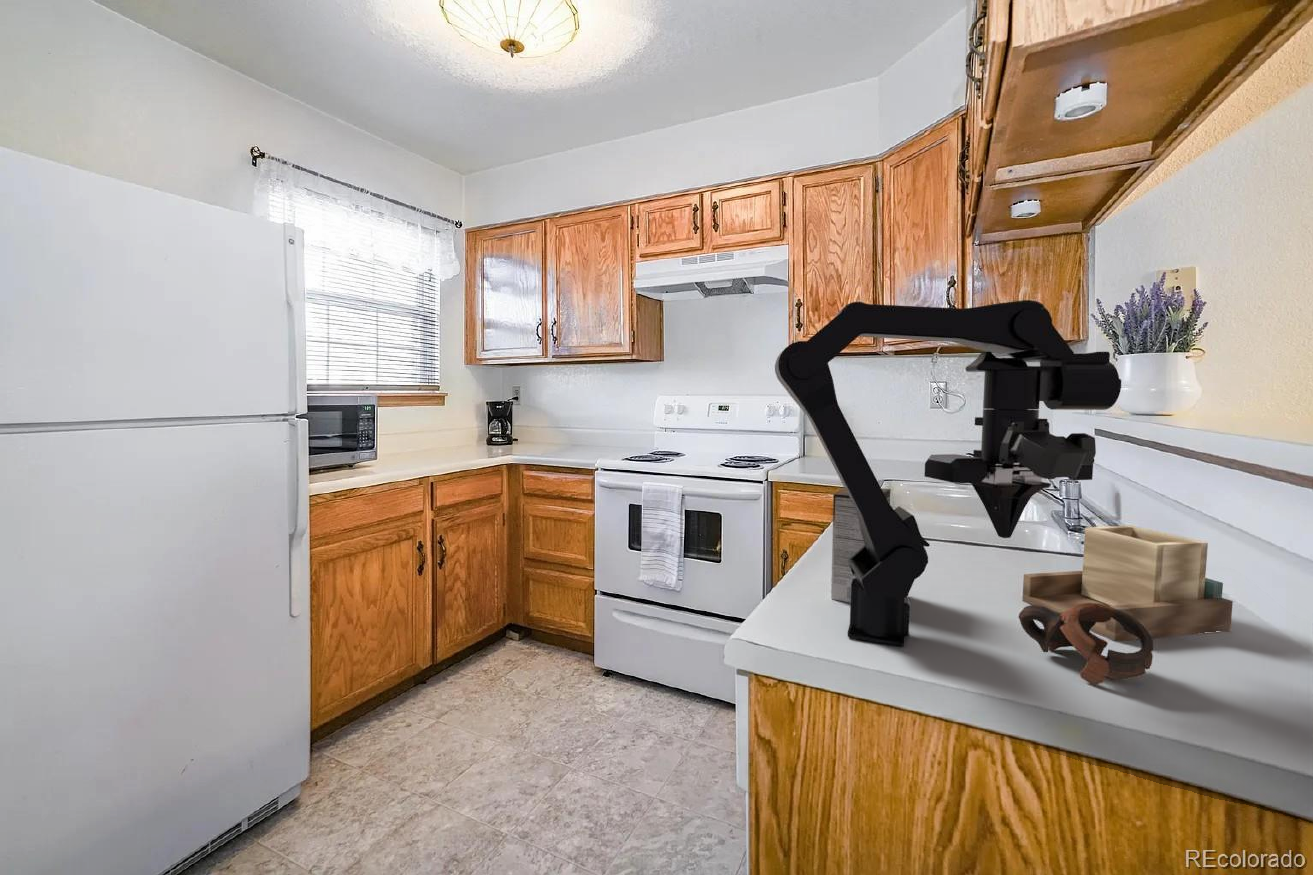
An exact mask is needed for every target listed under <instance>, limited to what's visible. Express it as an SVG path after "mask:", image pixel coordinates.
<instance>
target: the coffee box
mask: <svg viewBox="0 0 1313 875" xmlns="http://www.w3.org/2000/svg"><path fill="white" fill-rule="evenodd" d="M881 489H882V491H883V493H884V495H885V497H886V499H887V501H888V503H889V504H890V505H891V488H882V487H881ZM832 502H833V503H832V506H833V507H832V541H831V542H832V543H831V544H832V547H831V582H830V584H831V585H830V586H831V589H830V595H831V596H830V599H831V600H835V601H840V602H845V603H850V601H851V584H852V580H853V579H854V578H855V579H856V577H855V576H854V575H853V574H852V571H851V568H850V566H849V563H848V560H849V559H850V558H851V557H852V556H853V555H854V554H855V553H857V552H858V551H859V550H860V549H861V548H862V547H864V546H865V543H864V540H863V537H862V534H861V530H860V525H859V520H858V515H857V511H856V509H855V507H854V505H853V503H852V501H851V499H850V497H849V495H848V493H847V491H846V489H845V488H843V489H841V490H839V491H836V492H835V493H833V501H832Z"/></svg>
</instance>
